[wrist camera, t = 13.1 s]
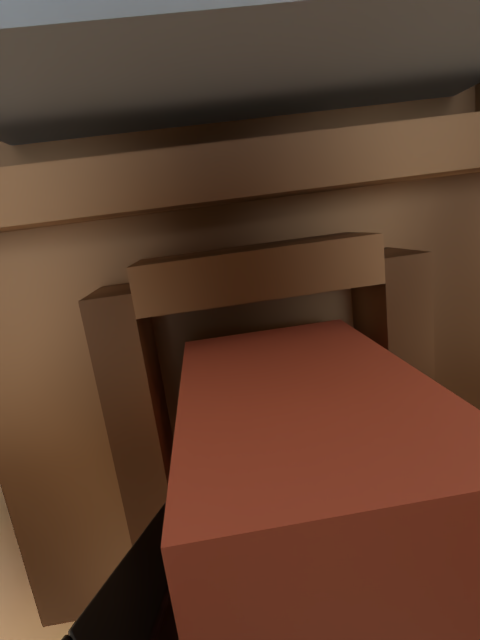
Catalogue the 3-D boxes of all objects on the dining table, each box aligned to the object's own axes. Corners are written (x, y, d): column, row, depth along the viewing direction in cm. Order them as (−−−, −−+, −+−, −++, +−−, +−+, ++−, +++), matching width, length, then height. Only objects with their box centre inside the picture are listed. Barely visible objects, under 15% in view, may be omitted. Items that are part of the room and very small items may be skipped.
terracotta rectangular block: (339, 319, 9) (577, 473, 3) (356, 543, 11) (544, 922, 5) (185, 341, 9) (159, 547, 3) (221, 568, 10) (250, 997, 5)
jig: (495, -266, 9) (649, -520, 6) (485, 511, 14) (569, 594, 11) (-173, -232, 8) (-399, -511, 5) (56, 590, 13) (11, 706, 10)
